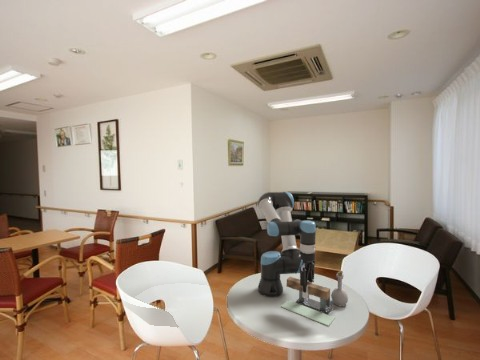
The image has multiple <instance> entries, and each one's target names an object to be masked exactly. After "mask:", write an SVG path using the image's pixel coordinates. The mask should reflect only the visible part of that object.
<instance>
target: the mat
mask: <svg viewBox="0 0 480 360" xmlns="http://www.w3.org/2000/svg"><path fill="white" fill-rule="evenodd" d="M280 307H281V308H283V309H286V310H288V311H289V312H293V313H295V314H297V315H300V316H303V317H304V318H306V319H307V318H308V319H310V320H312V321H315V322H317V323H319V324H322V325H324V326H326V327H330V326H331V324H333V322H334V321H335V319H336V317H334V316H331V315H329V314H326V313H323V312H321V311H318V310H316V309H313V308H310V307H308V306H305V305H302V304H300V303H297V302H295V301H292V300H290V299H288V300H287V301H286V302H283V304H281V306H280Z"/></svg>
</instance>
